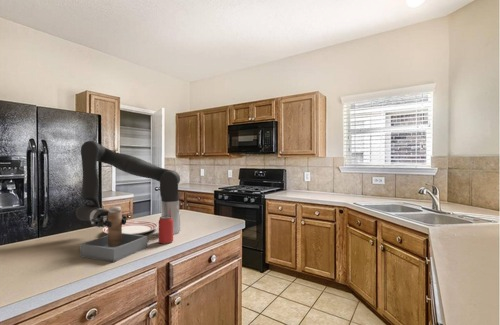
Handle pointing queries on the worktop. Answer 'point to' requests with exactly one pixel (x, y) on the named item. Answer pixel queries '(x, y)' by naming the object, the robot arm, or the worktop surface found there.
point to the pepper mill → (115, 227)
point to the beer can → (165, 229)
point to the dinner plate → (136, 227)
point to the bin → (113, 254)
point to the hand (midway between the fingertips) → (117, 223)
